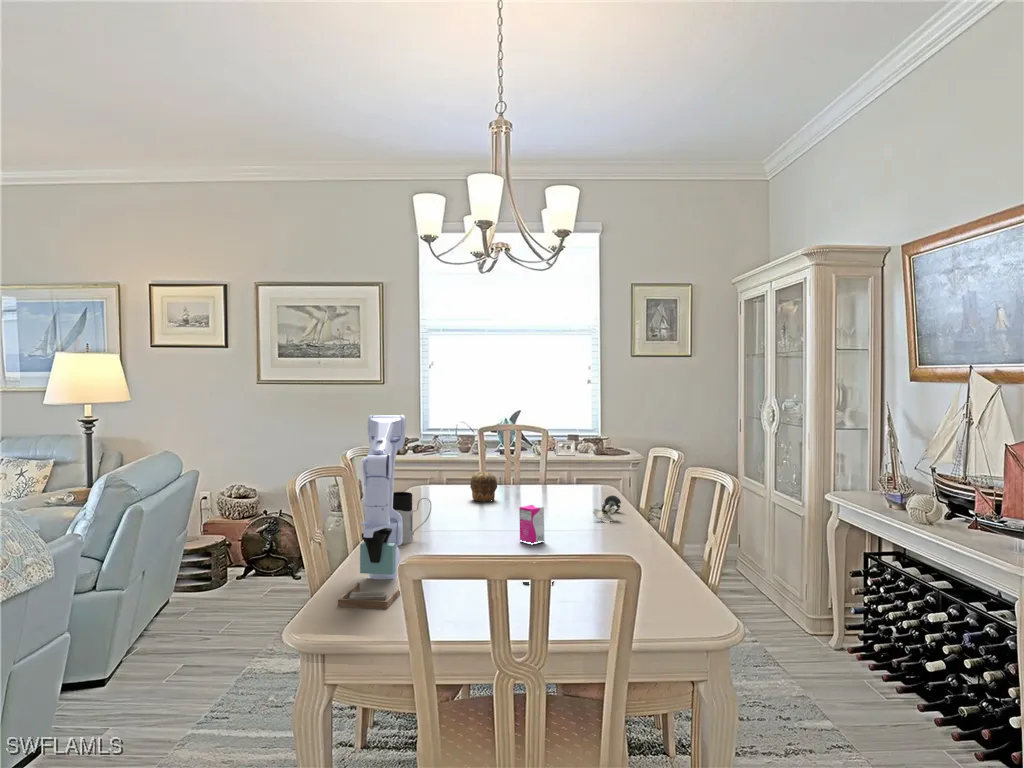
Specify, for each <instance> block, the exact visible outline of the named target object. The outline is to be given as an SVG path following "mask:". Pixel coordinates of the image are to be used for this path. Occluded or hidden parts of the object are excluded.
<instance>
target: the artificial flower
mask: <svg viewBox="0 0 1024 768" xmlns="http://www.w3.org/2000/svg"><path fill="white" fill-rule="evenodd" d="M621 504H622V500H621V499H620V498H619V497H618V496H616V495H609V496H607V497H606V498H605V499H603V500H602V503H601V510H600V509H599V508H593V510H592V514H593V516H594V517H595V518H596V519H597V520H601V521H602V522H603V523H605V521H612V522H613V520H614V519H613V517H612V516H611V515H610V514H613V513H616V512H615V511H617V512H618V511H619V510H620V509H621Z"/></svg>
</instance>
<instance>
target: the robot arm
mask: <svg viewBox="0 0 1024 768" xmlns="http://www.w3.org/2000/svg"><path fill="white" fill-rule="evenodd" d="M367 417H368V418H367V436H368V442H369V448H368V452H367V456H366V457H365V456H364V457H363V459H362V474H363V486H364V487H365V488H364V489H365V490H364V495H365V496H364V499H365V500H364V505H365V507H364V521H360V523H359V525H360V526H361V527H363V533H361V539H362V540H363V542H365V544H366V546H367V550H368V554H369V558H370V562H371V563H379V562H380V559H381V552H382V546H383V543H396V551H395V573H394V574H393V575H386V574H368V579H374V580H398V579H397V566H398V564H399V563H400V564H401V553H400V552H401V551H400V548H399V547H398V546H401V545H402V544H401V543H402V539H403V524H402V517H401V515H400V514H399V513H398V512H396V511H395V510H394V509H393V492H394V490H395V489H394V488H395V467H396V465H395V463H396V457H397V454H398V451H401V449H403V448H404V444H405V443H406V442H405V441H406V422H407V421H406V417H405V415H404V414H400V415H390V414H389V415H386V414H385V415H382V414H381V415H379V414H370V415H369V416H367Z"/></svg>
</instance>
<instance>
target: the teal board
mask: <svg viewBox="0 0 1024 768" xmlns="http://www.w3.org/2000/svg"><path fill="white" fill-rule="evenodd" d="M359 551H360V552H359V564H360V565H359V573H360V574H366V575H367V574H368V575H369V574H386V575H393V574H394V573H395V551H396V543H383V546H382V552H381V559H380V562H379V563H371V562H370V558H369V554H368V550H367V546H366V544H365V542H364V541H363V542H361V543H360V544H359Z"/></svg>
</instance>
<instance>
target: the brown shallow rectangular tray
mask: <svg viewBox="0 0 1024 768" xmlns="http://www.w3.org/2000/svg"><path fill="white" fill-rule="evenodd" d="M360 587H361V584H360V581H359V582H356V583H354V585H352V587H350V588H349V589H348V590H347V591H345V593H343V594H342V596H340V597H339V598H337V607H343V608H344V607H346V608H358V609H359V608H362V609H363V608H365V609H379V610H380V609H383V610H387V609H389V608H390V606H392V605H393V604H394V602H395V601H396V600H397V599H398V598H399V597H400V595H401V594H400V591H399V586H398V587H397V588H396V589H395V590H394V591H393V593H391V594H390V595H389V597H388V598H386V601H376V600H356V599H350V595H351V593H352V592H359V591H360Z"/></svg>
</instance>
